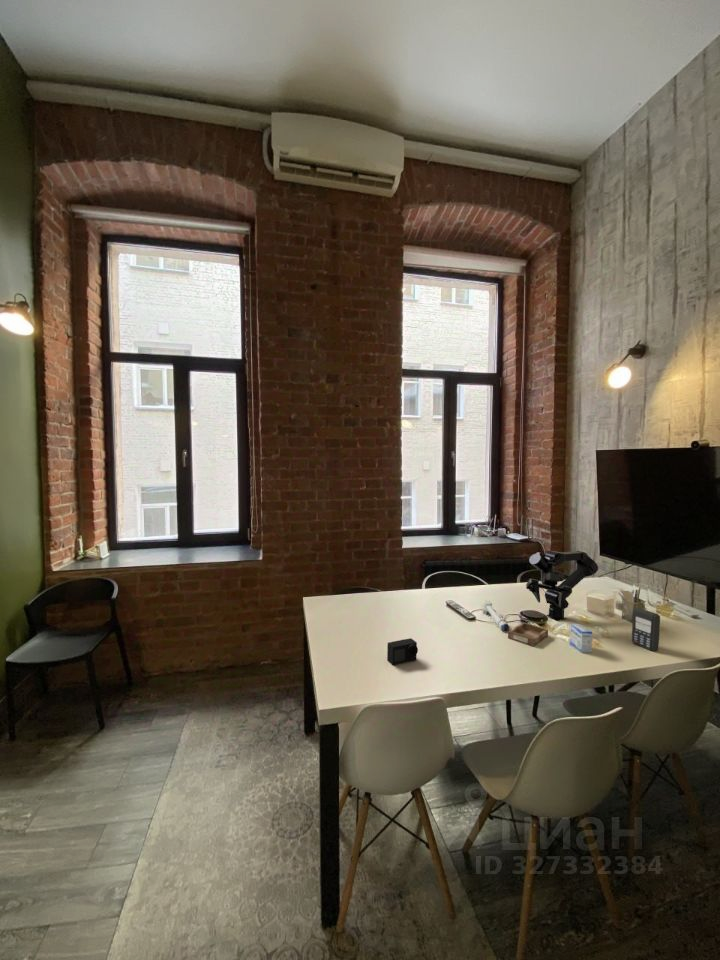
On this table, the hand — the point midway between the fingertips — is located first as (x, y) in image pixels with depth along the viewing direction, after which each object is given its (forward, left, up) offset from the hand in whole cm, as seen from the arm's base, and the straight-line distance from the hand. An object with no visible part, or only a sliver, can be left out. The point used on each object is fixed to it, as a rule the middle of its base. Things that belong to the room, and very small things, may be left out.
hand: (550, 604), depth 181 cm
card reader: (-26, +25, -12) cm, 38 cm away
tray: (+14, +3, -12) cm, 19 cm away
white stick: (+16, -17, -12) cm, 27 cm away
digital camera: (+76, +6, -12) cm, 77 cm away
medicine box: (+1, +18, -12) cm, 22 cm away
